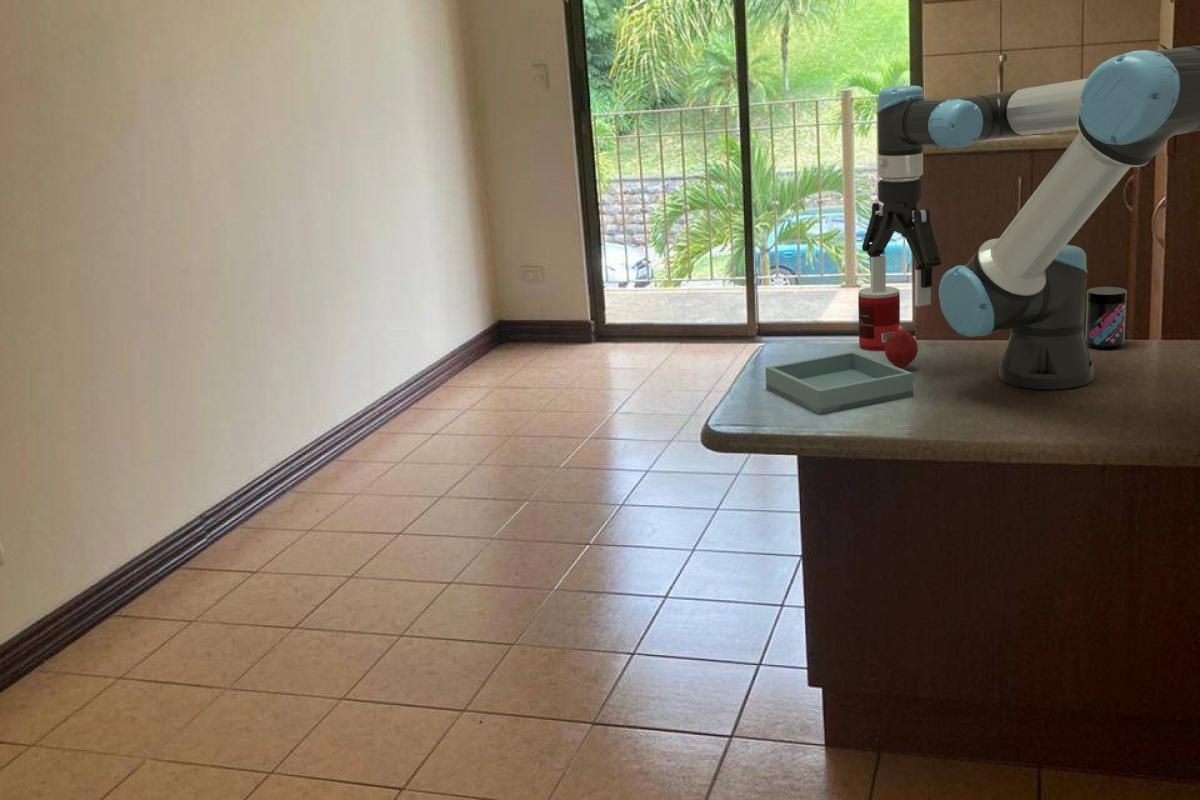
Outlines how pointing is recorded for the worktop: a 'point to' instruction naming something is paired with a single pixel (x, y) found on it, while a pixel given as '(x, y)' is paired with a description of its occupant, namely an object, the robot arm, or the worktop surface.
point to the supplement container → (1105, 317)
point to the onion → (901, 348)
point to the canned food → (878, 317)
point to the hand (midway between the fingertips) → (899, 298)
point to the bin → (839, 382)
